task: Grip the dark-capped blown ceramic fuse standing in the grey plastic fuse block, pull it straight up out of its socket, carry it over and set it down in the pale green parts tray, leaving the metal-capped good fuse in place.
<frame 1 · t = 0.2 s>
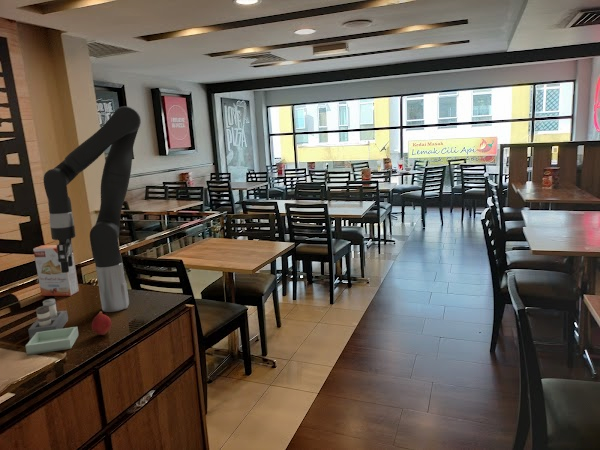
hand: (67, 269, 158), 17 cm above the countertop, tool pointing down, fingers open, 8 cm apart
parts tray: (54, 344, 137), on the countertop
onion: (103, 335, 142), on the countertop
good fuse: (53, 325, 153), resting in fuse block
cracker box: (60, 294, 186), on the countertop
blown fuse: (46, 333, 146), resting in fuse block
fuse block: (50, 329, 149), on the countertop
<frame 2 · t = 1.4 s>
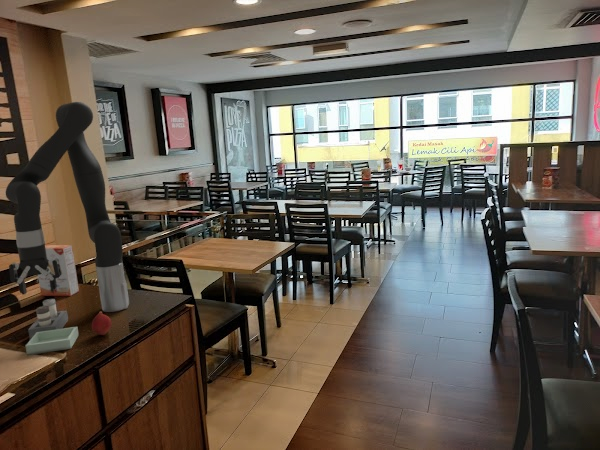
hand: (38, 292, 143), 14 cm above the countertop, tool pointing down, fingers open, 8 cm apart
nothing on the countertop moved.
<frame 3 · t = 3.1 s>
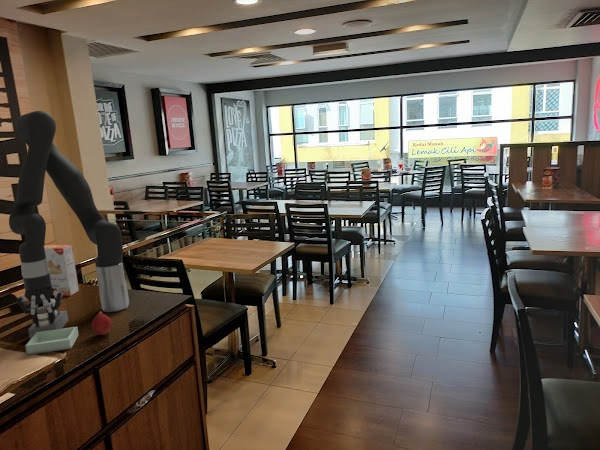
hand: (44, 323, 145), 4 cm above the countertop, tool pointing down, fingers closed on blown fuse, 3 cm apart
blown fuse: (46, 333, 146), resting in fuse block, touching gripper
everything else where it was.
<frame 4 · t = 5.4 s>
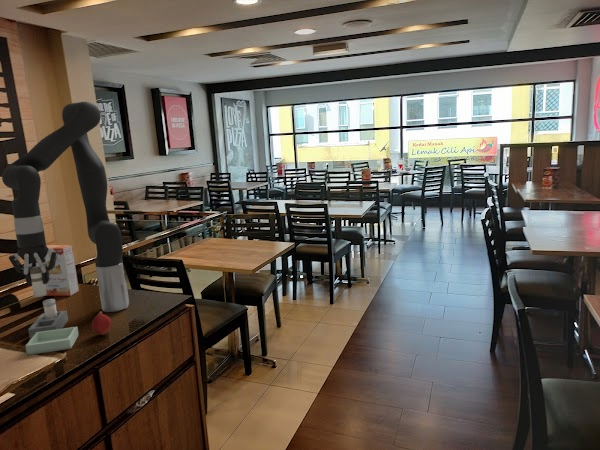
hand: (38, 283, 138), 19 cm above the countertop, tool pointing down, fingers closed on blown fuse, 3 cm apart
blown fuse: (40, 295, 139), point 15 cm above the countertop, touching gripper
everything else where it was.
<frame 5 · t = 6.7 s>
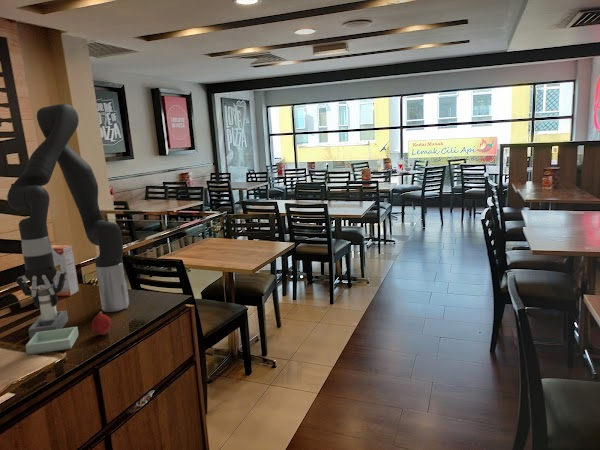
hand: (46, 306, 135), 13 cm above the countertop, tool pointing down, fingers closed on blown fuse, 3 cm apart
blown fuse: (48, 317, 135), point 9 cm above the countertop, touching gripper
everything else where it was.
when the fingers open (6 cm above the countertop, at t = 8.0 s): blown fuse drops 2 cm, resting on parts tray.
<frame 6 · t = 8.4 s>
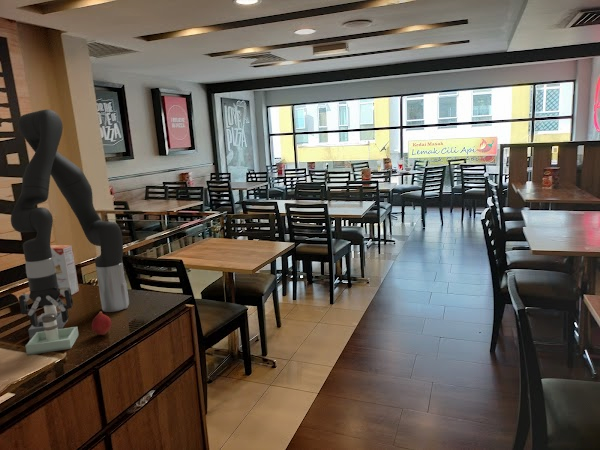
hand: (50, 323, 136), 7 cm above the countertop, tool pointing down, fingers open, 8 cm apart
blown fuse: (53, 342, 137), point 1 cm above the countertop, touching parts tray
everything else where it was.
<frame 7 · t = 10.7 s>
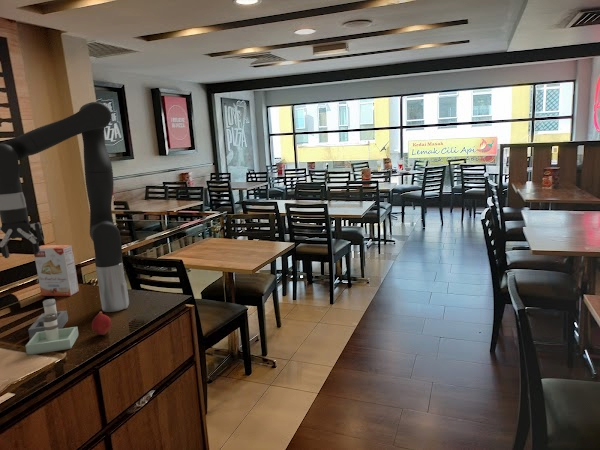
hand: (21, 255, 144), 26 cm above the countertop, tool pointing down, fingers open, 8 cm apart
nothing on the countertop moved.
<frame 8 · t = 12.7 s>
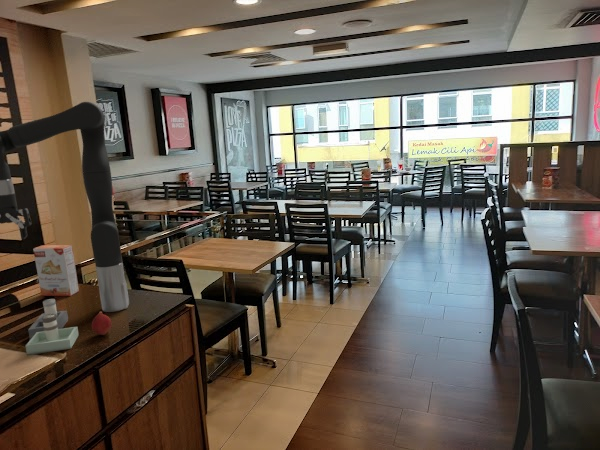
hand: (10, 240, 151), 30 cm above the countertop, tool pointing down, fingers open, 8 cm apart
nothing on the countertop moved.
at the end: blown fuse inside the target area on the parts tray (0.1 cm from its centre), point 0.7 cm above the parts tray's base; the gripper is holding nothing; good fuse 0.0 cm from the target spot on the fuse block, point 0.0 cm above the fuse block's base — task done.
